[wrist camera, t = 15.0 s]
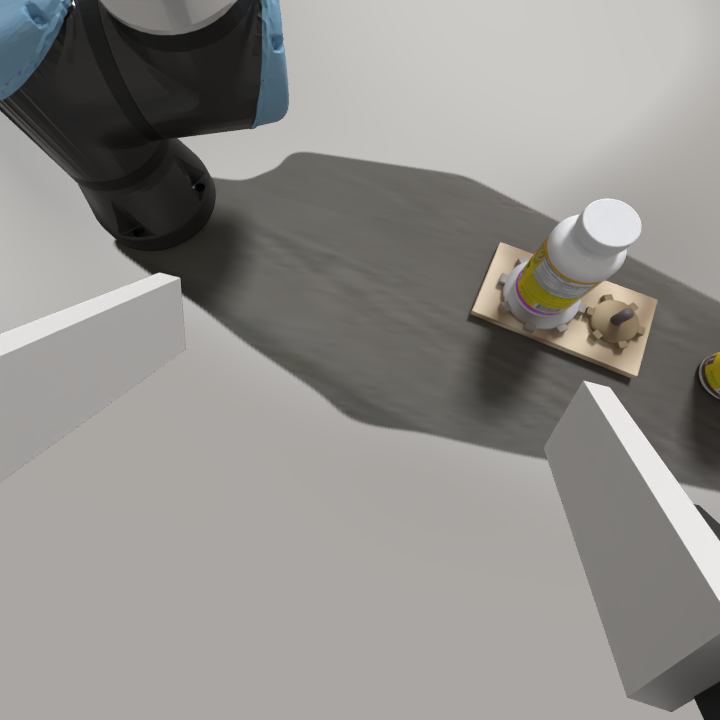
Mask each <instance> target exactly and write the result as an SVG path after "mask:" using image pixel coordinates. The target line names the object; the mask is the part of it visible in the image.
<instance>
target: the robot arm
mask: <svg viewBox="0 0 720 720" xmlns="http://www.w3.org/2000/svg"><path fill="white" fill-rule="evenodd" d="M288 105H289V93H288V79H287V67H286V58H285V49H284V45H283V33H282V21H281V13H280V6H279V0H0V111H1V112H3V113H4V114H5V115H6V116H7V117H8V118H9V119H10V120H11V121H12V122H13V123H14V124H15V125H16V126H17V127H18V128H20V129H21V130H22V131H23V132H24V133H25V134H26V135H27V136H28V137H29V138H30V139H31V140H32V141H33V142H34V143H36V144H37V145H38V146H39V147H40V148H41V149H42V150H43V151H44V152H45V153H46V154H47V155H48V156H49V157H50V158H51V159H53V160H54V161H55V162H56V163H57V164H58V165H59V166H60V167H61V168H62V169H63V170H64V171H65V172H67V173H68V174H69V175H70V176H71V177H72V178H73V179H74V180H75V181H76V182H77V183H78V185H79V187H80V189H81V191H82V193H83V194H84V196H85V198H86V200H87V202H88V204H89V206H90V207H91V209H92V211H93V213H94V215H95V217H96V219H97V220H98V221H99V223H100V224H101V225H102V226H103V228H104V229H105V230H106V231H108V232H109V233H110V234H111V235H112V236H113V237H114V238H116V239H117V240H118V241H119V242H121V243H122V244H124V245H126V246H129V247H131V248H135V249H139V250H160V249H165V248H169V247H172V246H175V245H178V244H180V243H182V242H184V241H186V240H187V239H189V238H190V237H192V236H193V235H194V234H195V233H197V232H198V231H199V230H200V229H201V228H202V227H203V225H204V224H205V223H206V222H207V220H208V218H209V217H210V215H211V213H212V211H213V208H214V204H215V197H216V192H215V186H214V182H213V180H212V178H211V176H210V174H209V172H208V171H207V169H206V167H205V165H204V164H203V163H202V161H201V160H200V159H199V158H198V156H197V155H196V154H194V153H193V152H192V151H191V150H190V149H189V148H188V147H187V146H185V145H184V144H183V143H182V142H181V141H180V140H179V139H178V138H180V137H188V136H196V135H203V134H212V133H218V132H227V131H235V130H243V129H254V128H256V127H257V126H260V125H264V124H269V123H273V122H277V121H279V120H281V119H282V118H283V117H284V116H285V115H286V113H287V110H288ZM184 350H186V344H185V332H184V319H183V307H182V293H181V280H180V278H179V277H175V276H171V275H167V274H163V273H157V274H154V275H152V276H149V277H146V278H144V279H141V280H139V281H136V282H134V283H131V284H128V285H126V286H123V287H121V288H118V289H115V290H113V291H110V292H107V293H105V294H102V295H99V296H97V297H94V298H92V299H89V300H86V301H84V302H81V303H79V304H76V305H73V306H71V307H68V308H66V309H63V310H60V311H58V312H55V313H53V314H50V315H48V316H45V317H42V318H40V319H37V320H35V321H32V322H29V323H27V324H24V325H21V326H19V327H16V328H14V329H11V330H8V331H6V332H3V333H1V334H0V482H1V481H2V480H4V479H5V478H7V477H8V476H10V475H11V474H12V473H14V472H15V471H16V470H18V469H19V468H21V467H22V466H24V465H25V464H26V463H28V462H29V461H31V460H32V459H33V458H35V457H36V456H38V455H39V454H40V453H42V452H43V451H44V450H46V449H47V448H49V447H50V446H51V445H53V444H54V443H56V442H57V441H58V440H60V439H61V438H63V437H64V436H65V435H66V434H68V433H70V432H71V431H72V430H74V429H75V428H77V427H78V426H79V425H81V424H82V423H84V422H85V421H86V420H88V419H89V418H91V417H92V416H93V415H95V414H96V413H97V412H99V411H100V410H102V409H103V408H105V407H106V406H107V405H109V404H110V403H112V402H113V401H114V400H116V399H117V398H118V397H120V396H121V395H123V394H124V393H126V392H127V391H128V390H130V389H131V388H132V387H134V386H135V385H137V384H138V383H139V382H141V381H142V380H144V379H145V378H146V377H148V376H149V375H151V374H152V373H153V372H155V371H156V370H158V369H159V368H160V367H162V366H163V365H165V364H166V363H167V362H169V361H170V360H172V359H173V358H174V357H176V356H177V355H179V354H180V353H181V352H183V351H184ZM544 450H545V453H546V456H547V459H548V462H549V465H550V468H551V471H552V474H553V477H554V480H555V483H556V486H557V489H558V492H559V495H560V498H561V501H562V504H563V507H564V510H565V513H566V516H567V519H568V522H569V525H570V528H571V531H572V534H573V537H574V540H575V543H576V546H577V549H578V552H579V555H580V558H581V561H582V564H583V567H584V570H585V573H586V576H587V579H588V582H589V585H590V588H591V591H592V594H593V596H594V600H595V603H596V606H597V609H598V612H599V615H600V618H601V621H602V624H603V627H604V630H605V633H606V636H607V639H608V642H609V645H610V647H611V651H612V654H613V657H614V660H615V663H616V666H617V669H618V671H619V674H620V678H621V680H622V684H623V686H624V690H625V692H626V696H627V698H630V699H634V700H636V701H639V702H643V703H646V704H649V705H652V706H655V707H658V708H661V709H664V710H667V711H670V712H673V711H674V710H676V709H678V708H679V707H681V706H683V705H684V704H686V703H688V702H690V701H691V700H693V699H695V701H696V703H697V705H698V708H699V710H700V712H701V714H702V716H703V718H704V720H720V524H719V523H718V522H717V521H716V520H714V519H713V518H712V517H711V516H710V515H709V514H708V513H707V512H706V511H705V510H703V508H701V507H700V506H699V505H695V504H693V503H692V502H691V500H690V499H689V497H688V496H687V495H686V494H685V492H684V490H683V489H682V488H681V486H680V485H679V484H678V482H677V481H676V479H675V478H674V477H673V475H672V474H671V472H670V471H669V470H668V468H667V467H666V465H665V464H664V463H663V461H662V460H661V458H660V457H659V456H658V454H657V453H656V451H655V450H654V449H653V447H652V446H651V444H650V443H649V442H648V440H647V439H646V437H645V436H644V435H643V433H642V432H641V430H640V429H639V428H638V426H637V425H636V423H635V422H634V421H633V419H632V418H631V416H630V415H629V414H628V412H627V411H626V410H625V408H624V407H623V405H622V404H621V403H620V401H619V400H618V398H617V397H616V396H615V394H614V393H613V391H612V390H611V389H610V387H606V386H602V385H598V384H594V383H590V382H586V381H583V382H582V384H581V385H580V387H579V389H578V391H577V392H576V394H575V396H574V397H573V399H572V401H571V402H570V404H569V406H568V407H567V409H566V411H565V412H564V414H563V416H562V417H561V419H560V421H559V423H558V424H557V426H556V428H555V429H554V431H553V433H552V434H551V436H550V438H549V439H548V441H547V443H546V444H545V446H544Z"/></svg>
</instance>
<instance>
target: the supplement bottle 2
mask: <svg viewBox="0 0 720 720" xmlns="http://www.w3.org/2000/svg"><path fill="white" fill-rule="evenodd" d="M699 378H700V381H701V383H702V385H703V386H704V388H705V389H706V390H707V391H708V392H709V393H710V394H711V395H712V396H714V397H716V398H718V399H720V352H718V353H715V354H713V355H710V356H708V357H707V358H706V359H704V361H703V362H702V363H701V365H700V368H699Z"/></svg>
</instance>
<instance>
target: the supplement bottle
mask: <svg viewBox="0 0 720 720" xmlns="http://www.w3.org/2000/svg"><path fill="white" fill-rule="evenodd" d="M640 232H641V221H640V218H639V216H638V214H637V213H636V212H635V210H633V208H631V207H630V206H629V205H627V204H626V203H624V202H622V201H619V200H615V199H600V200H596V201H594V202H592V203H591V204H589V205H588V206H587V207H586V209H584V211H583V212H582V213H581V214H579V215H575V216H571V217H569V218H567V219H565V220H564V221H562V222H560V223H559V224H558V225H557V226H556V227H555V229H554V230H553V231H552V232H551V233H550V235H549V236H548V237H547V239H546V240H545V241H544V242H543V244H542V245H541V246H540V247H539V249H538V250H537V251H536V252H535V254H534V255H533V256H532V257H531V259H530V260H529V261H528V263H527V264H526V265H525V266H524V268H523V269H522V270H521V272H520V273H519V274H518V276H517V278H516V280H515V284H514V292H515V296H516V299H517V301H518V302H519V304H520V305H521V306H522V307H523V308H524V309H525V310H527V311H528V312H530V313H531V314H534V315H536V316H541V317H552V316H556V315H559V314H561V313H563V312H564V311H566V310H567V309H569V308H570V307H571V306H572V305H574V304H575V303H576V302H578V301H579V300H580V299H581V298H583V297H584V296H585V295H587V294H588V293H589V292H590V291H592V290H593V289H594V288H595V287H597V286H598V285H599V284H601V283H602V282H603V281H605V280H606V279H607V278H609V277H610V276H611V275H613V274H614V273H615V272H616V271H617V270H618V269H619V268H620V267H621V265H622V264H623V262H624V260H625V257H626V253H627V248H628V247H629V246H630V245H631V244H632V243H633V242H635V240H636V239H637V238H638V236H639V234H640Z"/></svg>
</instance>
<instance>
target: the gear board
mask: <svg viewBox="0 0 720 720" xmlns="http://www.w3.org/2000/svg"><path fill="white" fill-rule="evenodd" d="M533 255H534V254H531V253H529V252H526V251H523V250H520V249H518V248H515V247H512V246H510V245H507V244H504V243H501V242H500V244H499V245H498V247H497V250H496V252H495V254H494V257H493V259H492V262H491V264H490V267H489V269H488V272H487V274H486V276H485V279H484V281H483V284H482V286H481V289H480V291H479V294H478V296H477V298H476V301H475V303H474V306H473V308H472V311H471V313H470V314H471V315H474V316H476V317H479V318H481V319H484V320H486V321H489V322H491V323H494V324H496V325H499V326H501V327H504V328H506V329H509V330H511V331H514V332H516V333H519V334H521V335H524V336H526V337H529V338H531V339H534V340H536V341H539V342H541V343H544V344H546V345H549V346H551V347H554V348H556V349H559V350H561V351H564V352H566V353H569V354H571V355H574V356H576V357H579V358H581V359H584V360H586V361H589V362H591V363H594V364H596V365H599V366H601V367H604V368H606V369H609V370H611V371H614V372H616V373H619V374H621V375H624V376H626V377H629V378H634V377H637V375H638V371H639V368H640V364H641V360H642V357H643V353H644V349H645V345H646V342H647V338H648V334H649V330H650V327H651V323H652V319H653V315H654V312H655V308H656V304H657V299H654V298H651V297H649V296H646V295H643V294H640V293H638V292H635V291H632V290H629V289H627V288H624V287H621V286H619V285H616V284H613V283H610V282H608V281H603V282H602V283H601V284H599V285H598V286H597V287H595V288H594V289H593V290H592V291H590V292H589V293H588V294H587V295H585V296H584V297H583V298H581V299H580V300H579V301H578V302H576V303H575V304H574V305H572V306H571V307H570V308H569V309H567V310H566V311H564V312H563V313H561V314H559V315H556V316H552V317H541V316H536V315H534V314H531V313H530V312H528V311H527V310H525V309H524V308H523V307H522V306H521V305H520V304H519V302H518V301H517V299H516V296H515V292H514V284H515V280H516V278H517V276H518V274H519V273H520V272H521V270H522V269H523V268H524V266H525V265H526V264H527V263H528V261H529V260H530V259H531V257H532V256H533Z"/></svg>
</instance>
